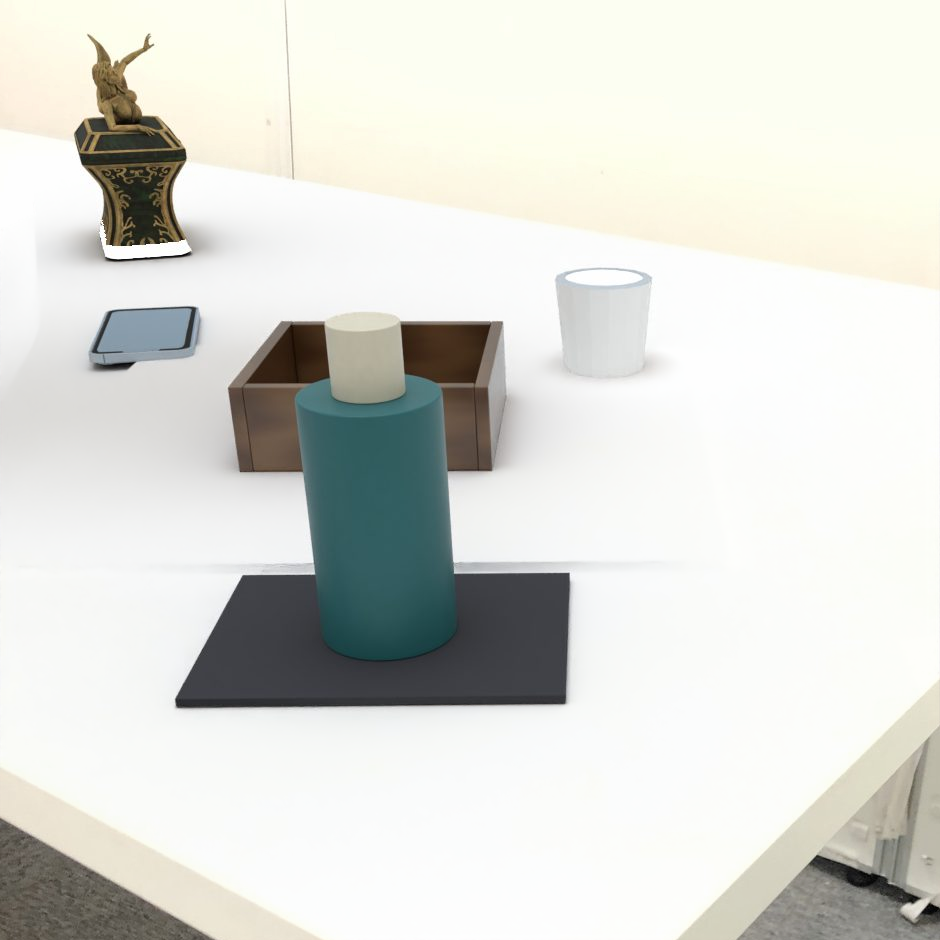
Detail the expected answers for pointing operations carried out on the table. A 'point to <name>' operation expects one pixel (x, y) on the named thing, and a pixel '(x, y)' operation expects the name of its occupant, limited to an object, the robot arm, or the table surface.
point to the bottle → (377, 496)
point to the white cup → (603, 320)
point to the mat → (386, 682)
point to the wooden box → (424, 355)
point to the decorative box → (130, 159)
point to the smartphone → (145, 335)
